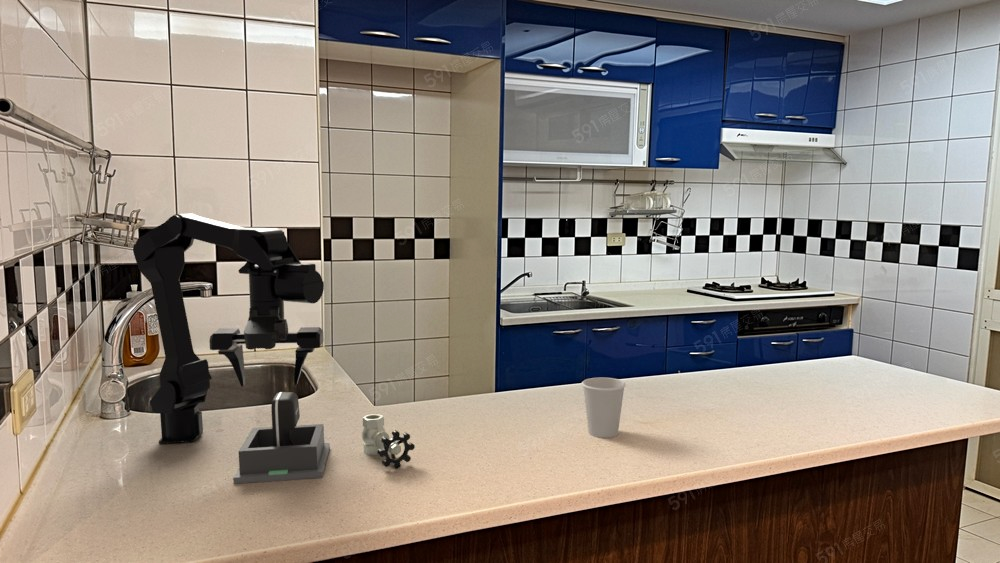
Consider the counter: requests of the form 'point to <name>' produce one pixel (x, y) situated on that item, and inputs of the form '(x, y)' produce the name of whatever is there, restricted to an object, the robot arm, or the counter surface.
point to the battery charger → (284, 417)
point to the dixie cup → (603, 405)
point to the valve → (384, 441)
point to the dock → (282, 455)
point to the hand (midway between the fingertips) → (269, 385)
